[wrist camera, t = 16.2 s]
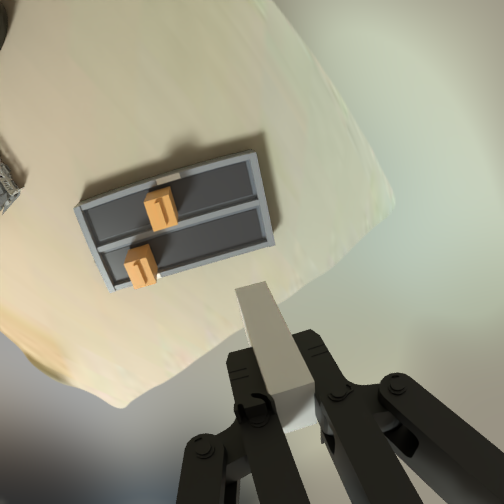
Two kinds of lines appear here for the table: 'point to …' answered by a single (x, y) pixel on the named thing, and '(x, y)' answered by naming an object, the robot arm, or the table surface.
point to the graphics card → (11, 195)
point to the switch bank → (181, 218)
